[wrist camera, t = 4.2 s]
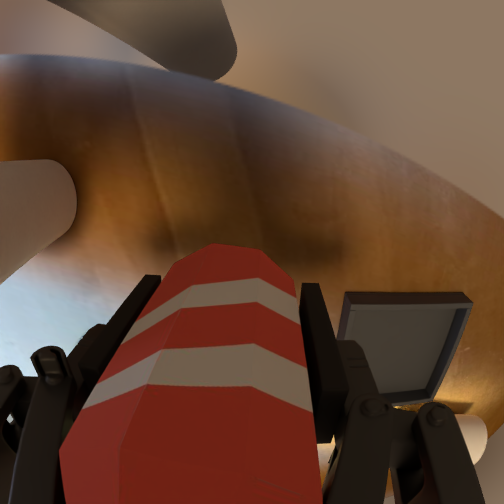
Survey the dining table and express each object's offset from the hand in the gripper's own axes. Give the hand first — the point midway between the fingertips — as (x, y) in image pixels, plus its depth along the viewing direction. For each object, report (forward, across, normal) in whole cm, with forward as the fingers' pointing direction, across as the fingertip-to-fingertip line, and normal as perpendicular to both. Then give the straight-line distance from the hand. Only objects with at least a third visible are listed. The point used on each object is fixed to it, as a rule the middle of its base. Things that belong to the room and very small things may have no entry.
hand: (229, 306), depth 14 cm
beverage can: (+1, 0, 0) cm, 1 cm away
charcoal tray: (+8, +13, -8) cm, 17 cm away
